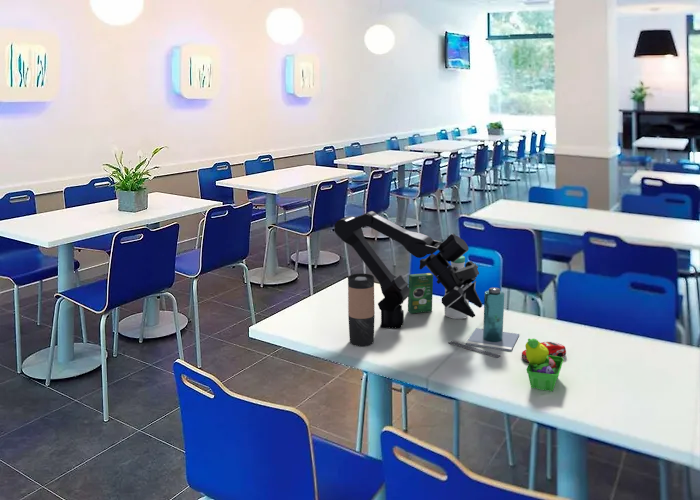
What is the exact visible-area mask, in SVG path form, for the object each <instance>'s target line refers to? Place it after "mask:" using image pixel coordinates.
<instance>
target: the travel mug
mask: <svg viewBox="0 0 700 500" xmlns="http://www.w3.org/2000/svg"><path fill="white" fill-rule="evenodd" d="M347 289H348V290H347V302H348V303H347V304H348V305H347V309H348V314H347V316H348V333H349V334H348V335H349V337H348V338H349V343H350V344H351V345H352V346H354V347H359V348H361V347H369V346H371V345H373V344H374V342H375V317H376V315H375V276H374V275H373V274H370V273H352V274H350V275H348V276H347Z"/></svg>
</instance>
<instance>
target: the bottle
mask: <svg viewBox="0 0 700 500" xmlns="http://www.w3.org/2000/svg"><path fill="white" fill-rule="evenodd" d="M483 300H484V303H483V304H484V305H483V325H482V326H483V327H482V329H483V339H484V340H486V341H489V342H500V341H502V338H503V332H504V311H505V310H504V309H505V292H504V291H501V289H500V288H499V287H490V288H488V290H486V291H484V298H483Z"/></svg>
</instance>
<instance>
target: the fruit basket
mask: <svg viewBox="0 0 700 500" xmlns="http://www.w3.org/2000/svg"><path fill="white" fill-rule="evenodd" d="M541 343H542V342H540V341H539V340H537V339H536V338H528V339H527V342H526V343H525V350H526V357H527V359H528V361H529V362H528V365H527V367H526V373H527V375H528V380H529V384H530V388H531V389H537V390H541V391H549V392H553V391H554V388H555V385H556V383H557V379H558V378H559V376H560V372H561V370H562V366H563V362H564V360H565V359H564V357H558V356H551V355H548V354H549V351H548V349H547V348H546V347H545V346H544V345H542V344H541Z"/></svg>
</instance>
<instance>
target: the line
mask: <svg viewBox="0 0 700 500" xmlns="http://www.w3.org/2000/svg"><path fill="white" fill-rule="evenodd" d="M448 344H450V345H453V346H456V347H460V348H463V349H467V350H470V351H473V352H475V353H476V352H477V353H479V354H483V355H486V356H489V357H493V358H495V359H496V358H497V359H498V358H500V357H501V354H498V353H494V352H491V351H487V350H484V349H481V348H477V347H475V346H472V345H466V344H463V343H461V342H456V341H453V340H449V342H448Z"/></svg>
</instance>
